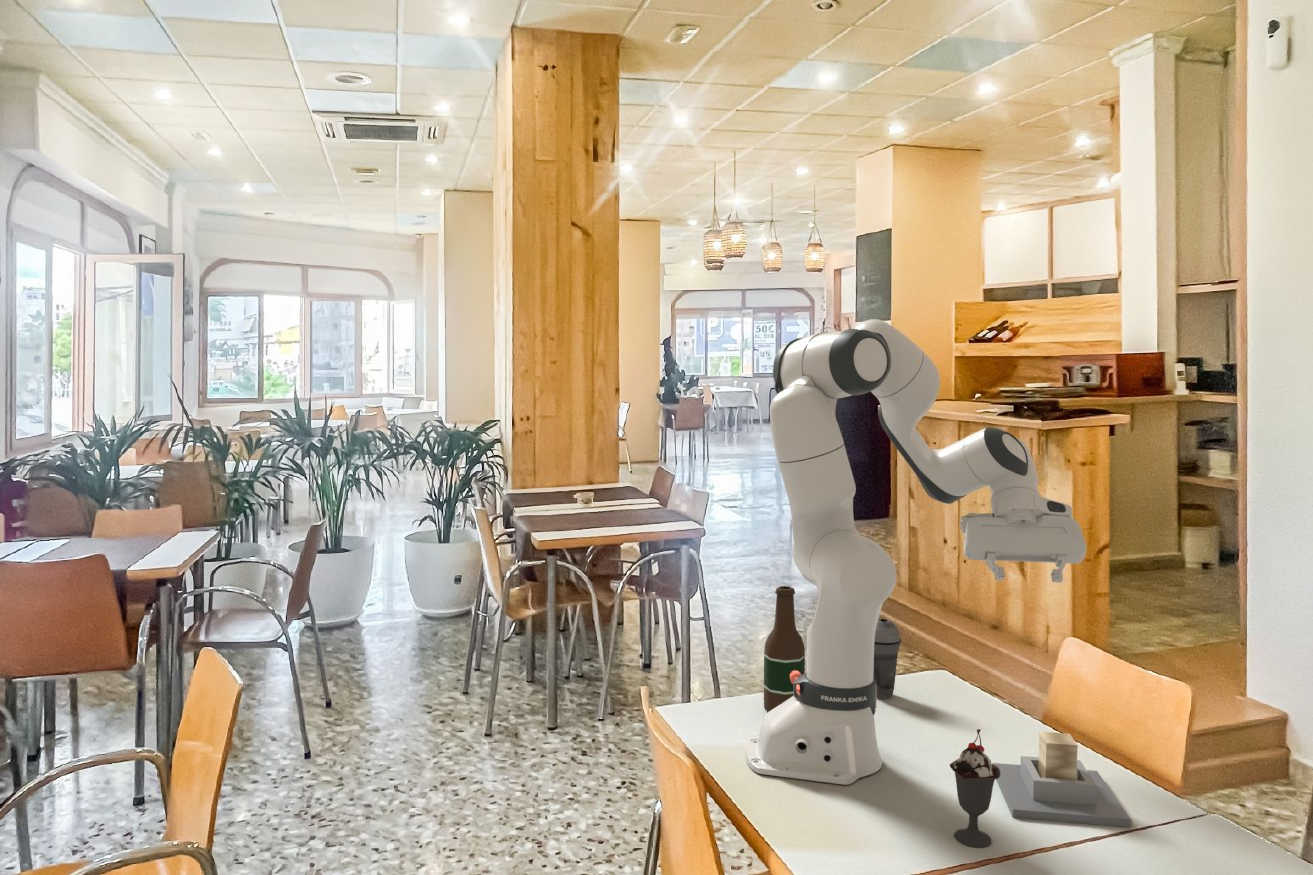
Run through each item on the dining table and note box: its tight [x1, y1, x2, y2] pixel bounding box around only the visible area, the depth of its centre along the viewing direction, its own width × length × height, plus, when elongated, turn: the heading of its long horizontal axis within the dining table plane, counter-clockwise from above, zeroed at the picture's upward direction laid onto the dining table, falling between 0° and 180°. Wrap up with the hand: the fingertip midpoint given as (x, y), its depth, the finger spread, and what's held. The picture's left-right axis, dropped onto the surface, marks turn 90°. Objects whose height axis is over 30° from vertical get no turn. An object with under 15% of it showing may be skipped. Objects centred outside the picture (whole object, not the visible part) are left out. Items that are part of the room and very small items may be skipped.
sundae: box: [949, 728, 1000, 848], centre depth 125 cm, size 7×7×15 cm
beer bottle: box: [763, 585, 806, 713], centre depth 172 cm, size 8×8×24 cm
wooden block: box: [1038, 731, 1079, 780], centre depth 137 cm, size 4×4×8 cm
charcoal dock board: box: [991, 755, 1132, 828], centre depth 138 cm, size 16×16×4 cm
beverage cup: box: [873, 614, 902, 700], centre depth 181 cm, size 7×7×20 cm
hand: (1028, 579), depth 155 cm, fingers open, 8 cm apart
